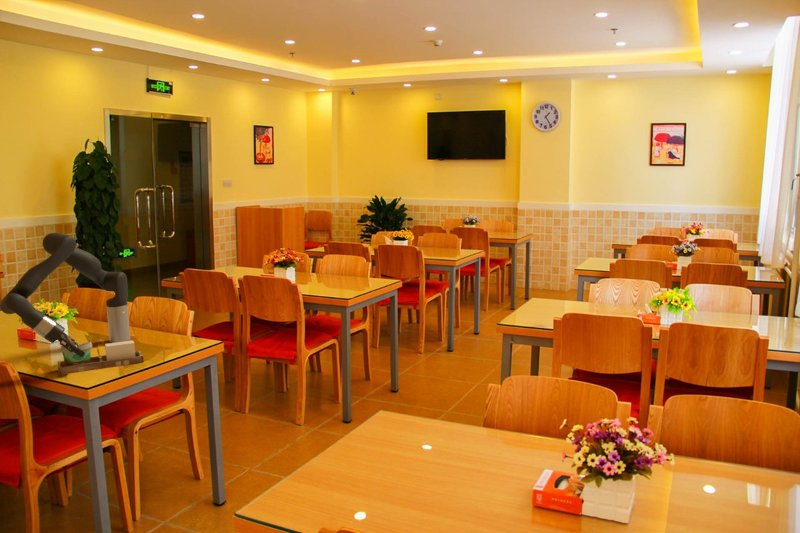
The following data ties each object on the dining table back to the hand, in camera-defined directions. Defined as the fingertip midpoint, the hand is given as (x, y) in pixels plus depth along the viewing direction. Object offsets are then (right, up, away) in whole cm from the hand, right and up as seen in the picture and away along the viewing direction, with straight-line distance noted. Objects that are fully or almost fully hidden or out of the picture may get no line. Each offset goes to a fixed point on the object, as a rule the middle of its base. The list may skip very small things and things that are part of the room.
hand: (83, 352), depth 280 cm
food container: (-1, -6, 0) cm, 6 cm away
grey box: (+13, -5, +7) cm, 15 cm away
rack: (+6, -6, +4) cm, 9 cm away
